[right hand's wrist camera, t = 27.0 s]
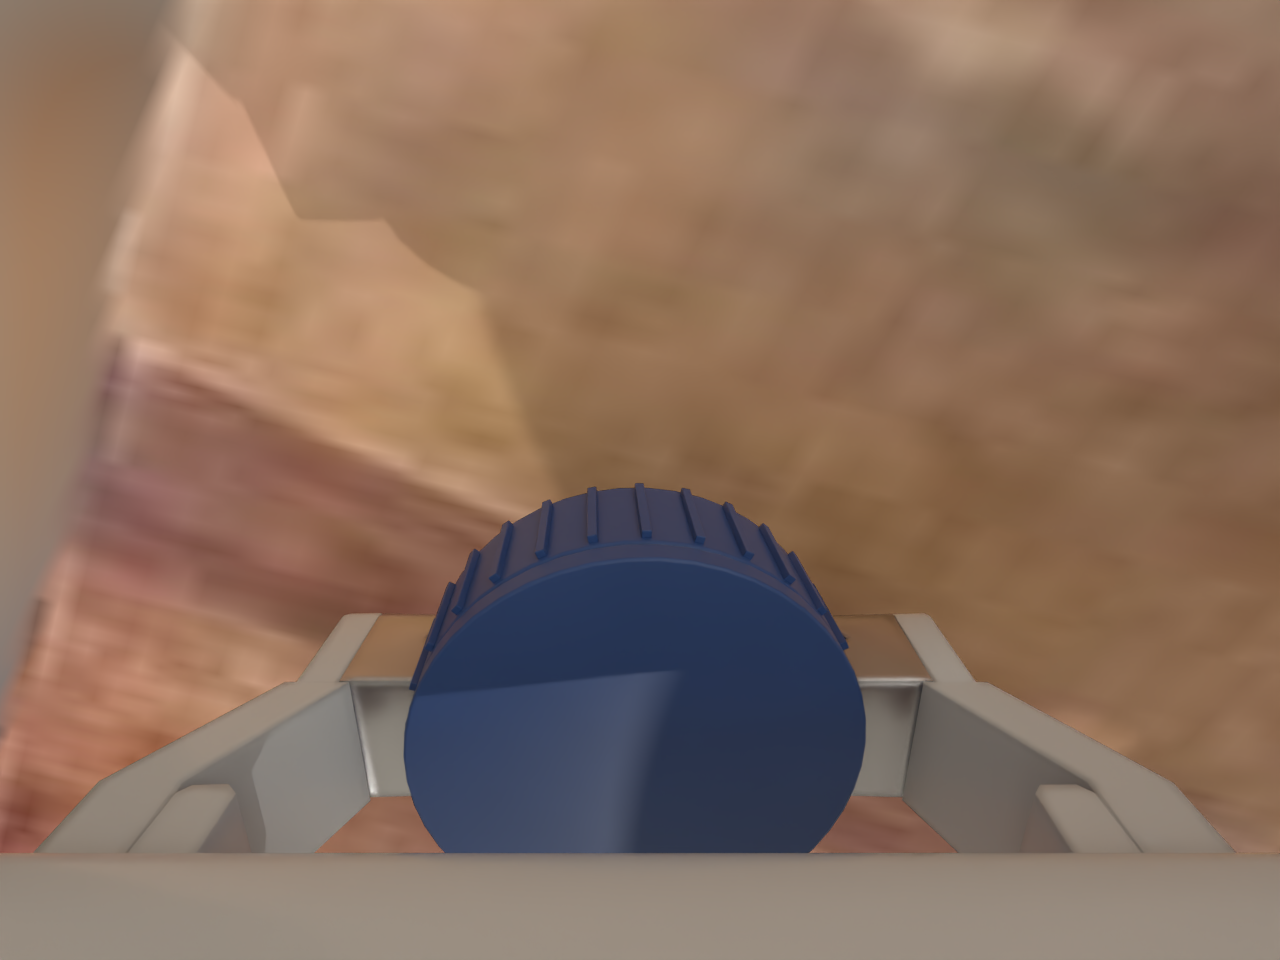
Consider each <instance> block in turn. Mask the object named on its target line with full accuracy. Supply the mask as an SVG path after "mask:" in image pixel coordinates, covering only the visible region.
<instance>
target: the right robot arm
mask: <svg viewBox="0 0 1280 960" xmlns="http://www.w3.org/2000/svg"><path fill="white" fill-rule="evenodd" d="M435 617H436V615H433V614H381V613H352V614H347V615H344V616H343V617H342V618H341V619H340V621H339V622H338V624H337V625H336V626H335V628H334V629H333V631H332V632H331V633H330V635H329V636H328V638H327V639H326V641H325V642H324V643H323V645H322V646H321V648H320V649H319V650H318V652H317V653H316V655H315V656H314V657H313V659H312V660H311V662H310V663H309V665H308V666H307V667H306V669H305V670H304V672H303V673H302V674H301V676H300V677H299V679H298V680H297V681H296V682H284V683H282V684H280V685H279V686H277V687H275V688H273V689H271V690H269V691H267V692H265V693H264V694H262V695H260V696H258V697H256V698H254V699H252V700H250V701H249V702H247V703H245V704H243V705H241V706H239V707H237V708H235V709H234V710H232V711H230V712H228V713H226V714H224V715H222V716H220V717H219V718H217V719H215V720H213V721H211V722H209V723H207V724H205V725H204V726H202V727H200V728H198V729H196V730H194V731H192V732H191V733H189V734H187V735H185V736H183V737H181V738H179V739H177V740H176V741H174V742H172V743H170V744H168V745H166V746H164V747H162V748H161V749H159V750H157V751H155V752H153V753H151V754H149V755H147V756H146V757H144V758H142V759H140V760H138V761H136V762H134V763H132V764H131V765H129V766H127V767H125V768H123V769H121V770H119V771H117V772H116V773H114V774H112V775H110V776H108V777H106V778H104V779H102V780H101V781H99V782H98V783H97V784H96V785H95V786H94V787H93V788H92V789H91V791H90V792H89V793H88V794H87V795H86V796H85V797H84V798H83V799H82V800H81V801H80V802H79V804H78V805H77V806H76V807H75V808H74V809H73V810H72V811H71V812H70V813H69V814H68V815H67V817H66V818H65V819H64V820H63V821H62V822H61V823H60V824H59V825H58V826H57V827H56V828H55V830H54V831H53V832H52V833H51V834H50V835H49V836H48V837H47V838H46V839H45V840H44V841H43V843H42V844H41V845H40V846H39V847H38V848H37V849H36V850H35V851H34V852H33V853H0V960H1280V853H1236V852H1235V851H1234V850H1233V849H1232V847H1231V846H1230V845H1229V844H1228V843H1227V842H1226V841H1225V840H1224V839H1223V837H1222V836H1221V835H1220V834H1219V833H1218V832H1217V831H1216V830H1215V829H1214V827H1213V826H1212V825H1211V824H1210V823H1209V822H1208V821H1207V820H1206V819H1205V817H1204V816H1203V815H1202V814H1201V813H1200V812H1199V811H1198V810H1197V809H1196V807H1195V806H1194V805H1193V804H1192V803H1191V802H1190V801H1189V800H1188V799H1187V797H1186V796H1185V795H1184V794H1183V793H1182V792H1181V791H1180V790H1179V789H1178V787H1177V786H1176V785H1175V784H1174V783H1173V782H1171V781H1169V780H1167V779H1166V778H1164V777H1162V776H1160V775H1158V774H1156V773H1154V772H1153V771H1151V770H1149V769H1147V768H1145V767H1143V766H1142V765H1140V764H1138V763H1136V762H1134V761H1132V760H1130V759H1129V758H1127V757H1125V756H1123V755H1121V754H1119V753H1118V752H1116V751H1114V750H1112V749H1110V748H1108V747H1106V746H1105V745H1103V744H1101V743H1099V742H1097V741H1095V740H1093V739H1092V738H1090V737H1088V736H1086V735H1084V734H1082V733H1081V732H1079V731H1077V730H1075V729H1073V728H1071V727H1069V726H1068V725H1066V724H1064V723H1062V722H1060V721H1058V720H1057V719H1055V718H1053V717H1051V716H1049V715H1047V714H1045V713H1044V712H1042V711H1040V710H1038V709H1036V708H1034V707H1032V706H1031V705H1029V704H1027V703H1025V702H1023V701H1021V700H1020V699H1018V698H1016V697H1014V696H1012V695H1010V694H1008V693H1007V692H1005V691H1003V690H1001V689H999V688H997V687H995V686H994V685H992V684H990V683H988V682H976V681H975V680H974V678H973V677H972V675H971V674H970V672H969V671H968V670H967V668H966V667H965V665H964V664H963V662H962V661H961V660H960V658H959V657H958V655H957V654H956V652H955V651H954V650H953V648H952V647H951V645H950V644H949V642H948V641H947V640H946V638H945V637H944V635H943V634H942V632H941V631H940V630H939V628H938V627H937V625H936V624H935V622H934V621H933V620H932V618H931V617H930V616H929V615H927V614H925V613H905V614H881V615H842V616H832V617H833V619H834V620H835V622H836V624H837V626H838V627H839V629H840V631H841V633H842V635H843V636H844V638H845V640H846V642H847V644H848V646H849V648H848V649H846V650H843V651H844V653H845V655H846V657H847V658H848V660H849V662H850V664H851V666H852V668H853V670H854V672H855V675H856V678H857V681H858V684H859V687H860V689H861V692H862V697H863V703H864V709H865V715H866V744H865V750H864V756H863V762H862V767H861V770H860V773H859V776H858V779H857V782H856V785H855V788H854V790H853V792H852V794H851V796H882V797H903V798H902V800H903V801H904V802H905V803H906V804H907V805H908V806H909V807H910V808H911V809H912V810H913V811H914V812H916V813H917V814H918V815H919V816H920V817H921V818H922V819H923V820H924V821H925V822H926V823H927V824H928V825H929V826H930V827H932V828H933V829H934V830H935V831H936V832H937V833H938V834H939V835H940V836H941V837H942V838H943V839H944V840H945V841H946V842H947V843H949V844H950V845H951V846H952V847H953V848H954V849H955V850H956V851H957V852H958V853H314V852H315V851H317V850H318V849H319V848H320V847H321V846H322V845H323V844H324V843H325V842H326V841H327V840H328V839H330V838H331V837H332V836H333V835H334V834H335V833H336V832H337V831H338V830H339V829H340V828H341V827H342V826H344V825H345V824H346V823H347V822H348V821H349V820H350V819H351V818H352V817H353V816H354V815H355V814H356V813H358V812H359V811H360V810H361V809H362V808H363V807H364V806H365V805H366V804H367V803H368V802H369V801H370V797H390V796H411V793H410V790H409V787H408V784H407V780H406V772H405V765H404V757H403V753H404V731H405V723H406V720H407V716H408V711H409V707H410V704H411V701H412V698H413V695H414V692H415V691H412V690H409V687H410V683H411V680H412V677H413V674H414V672H415V669H416V666H417V663H418V661H419V658H420V655H421V653H422V650H423V647H424V644H425V642H426V639H427V636H428V633H429V631H430V628H431V625H432V622H433V620H434V618H435Z"/></svg>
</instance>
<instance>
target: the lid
mask: <svg viewBox="0 0 1280 960" xmlns="http://www.w3.org/2000/svg"><path fill="white" fill-rule="evenodd" d="M848 648H849V646H848V644H847V642H846V640H845V638H844V636H843V635H842V633H841V631H840V629H839V627H838V626H837V624H836V622H835V620H834V619H833V617H832V615H831V613H830V612H829V610H828V608H827V606H826V604H825V603H824V601H823V599H822V597H821V596H820V594H819V592H818V590H817V589H816V587H815V585H814V584H812V582H811V580H810V579H809V577H808V575H807V573H806V571H805V570H804V568H803V566H802V564H801V563H800V561H799V559H798V557H797V556H796V554H795V553H794V552H793V551H792V552H790V553H789V554H787V553H786V551H785V550H784V549H783V548H782V547H781V546H780V545H779V544H778V543H777V542H776V540H775V539H774V537H773V535H772V533H771V531H770V529H769V527H768V526H766V525H765V524H764V523H763V524H762V525H761V526H760V527H758V526H757V525H755V524H754V523H753V522H751V521H750V520H749V519H747V518H745V517H743V516H742V515H740V514H738V513H736V512H735V509H734V507H733V505H732V504H730V503H728V502H725V503H724V505H723V506H722V505H720V504H717V503H714V502H712V501H709V500H706V499H704V498H701V497H697V496H693V495H692V494H691V491H690V490H689V489H685V488H682V489H681V492H676V491H670V490H661V489H652V488H644V484H643V483H635V488H617V489H610V490H602V491H597V489H596V487H591V488H588V489H587V493H585V494H582V495H578V496H574V497H570V498H566V499H563V500H561V501H558V502H555V503H553V504H552V502H551V500H547V501H545V502H543V503H542V508H540V509H538V510H536V511H535V512H533V513H531V514H529V515H527V516H525V517H524V518H522V519H520V520H518V521H516V522H515V523H513V524H512V523H511V522H510V521H507V522H506V523H504V524H503V525H502V528H501V532H500V534H498V535H497V536H496V537H494V538H493V539H492V540H491V541H490V542H489V543H488V544H487V545H486V546H485V547H484V548H483V549H482V550H481V551H480V552H479V551H478V550H476V549H474V550H473V551H472V552H471V553H470V555H469V558H468V561H467V564H466V567H465V570H464V571H463V572H462V574H461V575H460V577H459V579H458V581H457V582H456V584H453V583H451V582H449V584H448V585H447V587H446V590H445V593H444V595H443V598H442V601H441V604H440V606H439V609H438V612H437V615H436V617H435V618H434V620H433V622H432V625H431V628H430V631H429V633H428V636H427V639H426V642H425V644H424V647H423V650H422V653H421V655H420V658H419V661H418V663H417V666H416V669H415V672H414V674H413V677H412V680H411V683H410V687H409V690H412V691H415V692H414V695H413V698H412V701H411V704H410V707H409V711H408V716H407V720H406V723H405V731H404V753H403V757H404V765H405V772H406V780H407V784H408V787H409V790H410V793H411V796H412V800H413V803H414V806H415V808H416V810H417V812H418V814H419V816H420V818H421V820H422V822H423V824H424V826H425V827H426V829H427V830H428V832H429V833H430V834H431V836H432V837H433V839H434V840H435V842H436V843H437V844H438V846H439V847H440V848H441V849H442V850H443V851H444V852H445V853H809V852H810V851H811V850H813V849H814V847H815V846H816V845H817V844H818V843H819V842H820V841H821V840H822V838H823V837H824V836H825V835H826V834H827V833H828V832H829V831H830V829H831V828H832V826H833V825H834V823H835V822H836V820H837V819H838V818H839V816H840V815H841V813H842V812H843V810H844V808H845V806H846V804H847V802H848V800H849V798H850V796H851V794H852V792H853V790H854V788H855V785H856V782H857V779H858V776H859V773H860V770H861V767H862V762H863V756H864V750H865V744H866V715H865V709H864V703H863V697H862V692H861V689H860V687H859V684H858V681H857V678H856V675H855V672H854V670H853V668H852V666H851V664H850V662H849V660H848V658H847V657H846V655H845V653H844V651H843V650H846V649H848Z"/></svg>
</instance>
